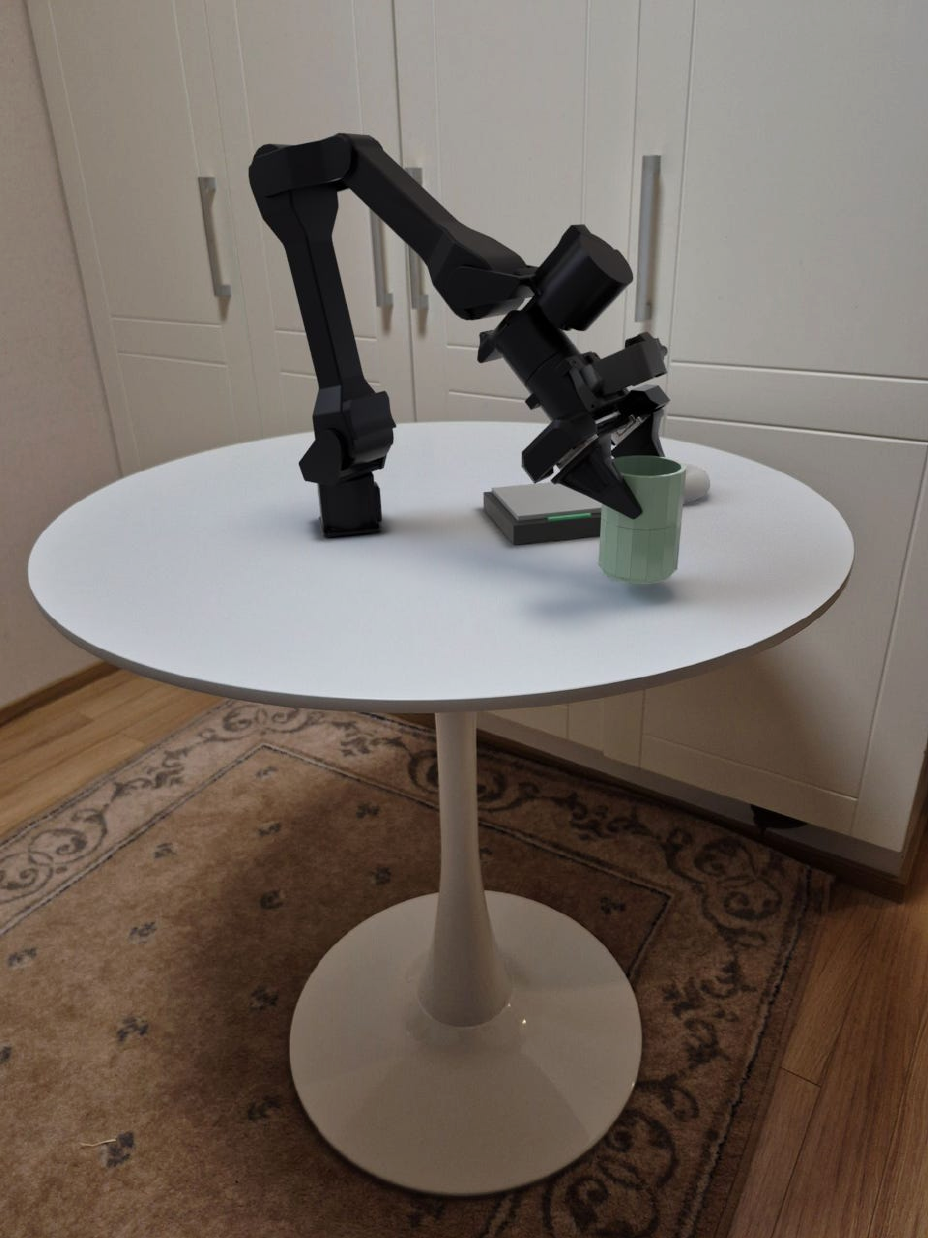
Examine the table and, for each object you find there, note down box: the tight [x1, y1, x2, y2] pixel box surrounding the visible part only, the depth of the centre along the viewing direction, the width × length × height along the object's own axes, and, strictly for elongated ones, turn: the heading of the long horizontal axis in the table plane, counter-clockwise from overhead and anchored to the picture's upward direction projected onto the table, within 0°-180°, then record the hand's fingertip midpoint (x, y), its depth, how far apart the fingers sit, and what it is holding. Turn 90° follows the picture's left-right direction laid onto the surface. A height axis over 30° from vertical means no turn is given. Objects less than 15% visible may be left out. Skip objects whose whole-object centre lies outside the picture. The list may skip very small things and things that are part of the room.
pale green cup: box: [598, 455, 686, 585], centre depth 78 cm, size 7×7×10 cm
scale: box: [482, 481, 602, 546], centre depth 99 cm, size 13×13×3 cm
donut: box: [682, 462, 711, 504], centre depth 107 cm, size 10×4×10 cm
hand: (656, 504), depth 76 cm, fingers closed on pale green cup, 7 cm apart
